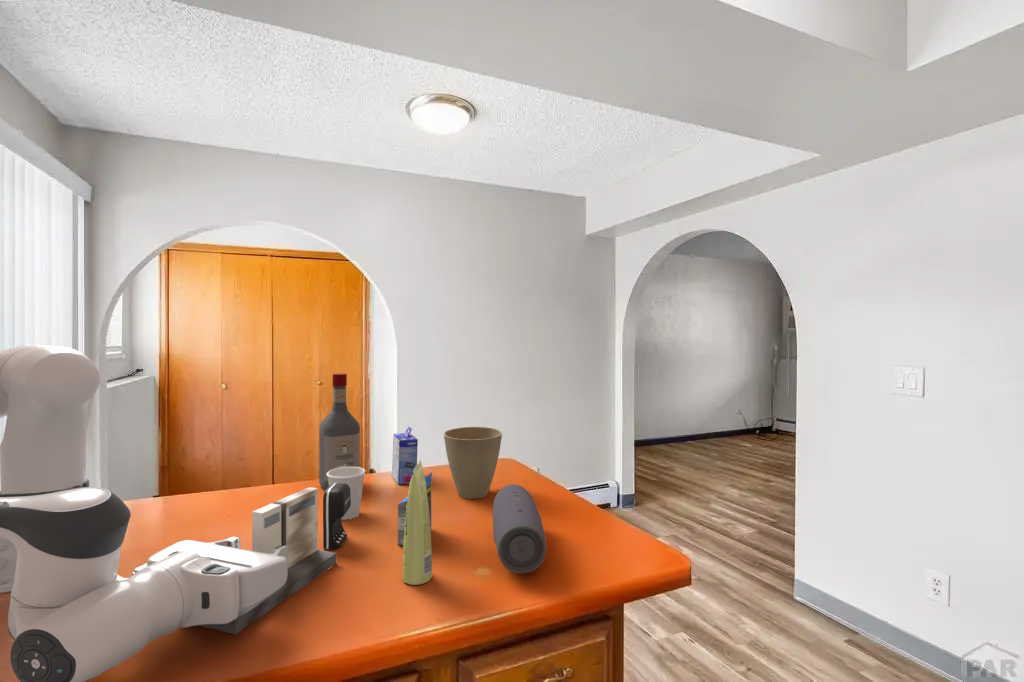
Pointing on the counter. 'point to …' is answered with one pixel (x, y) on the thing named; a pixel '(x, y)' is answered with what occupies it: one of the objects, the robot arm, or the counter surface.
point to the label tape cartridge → (402, 511)
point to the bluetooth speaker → (518, 530)
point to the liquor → (338, 434)
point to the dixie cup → (355, 482)
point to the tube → (417, 532)
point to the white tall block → (266, 528)
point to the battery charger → (335, 514)
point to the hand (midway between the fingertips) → (260, 545)
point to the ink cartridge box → (404, 456)
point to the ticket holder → (291, 556)
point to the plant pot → (472, 458)
